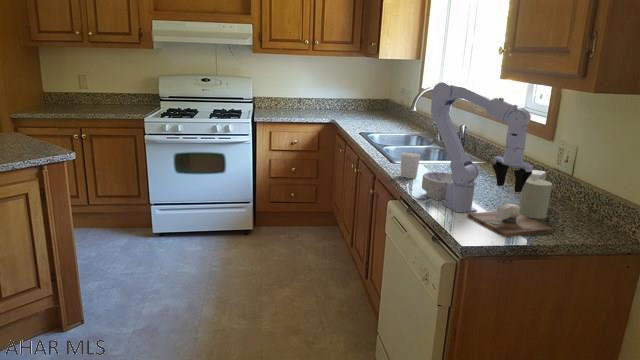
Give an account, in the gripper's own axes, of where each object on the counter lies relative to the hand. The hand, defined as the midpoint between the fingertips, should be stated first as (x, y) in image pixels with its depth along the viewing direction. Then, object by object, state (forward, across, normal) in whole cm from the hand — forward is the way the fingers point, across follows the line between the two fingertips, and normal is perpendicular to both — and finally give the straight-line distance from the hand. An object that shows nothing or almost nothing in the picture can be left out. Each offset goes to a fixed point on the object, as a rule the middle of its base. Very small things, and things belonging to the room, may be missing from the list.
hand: (509, 188), depth 153 cm
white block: (+7, +5, -5) cm, 10 cm away
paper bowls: (+10, -26, -5) cm, 29 cm away
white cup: (+10, -56, -1) cm, 57 cm away
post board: (+10, +4, -3) cm, 12 cm away
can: (+11, -2, +14) cm, 18 cm away
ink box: (+11, -12, +24) cm, 29 cm away
